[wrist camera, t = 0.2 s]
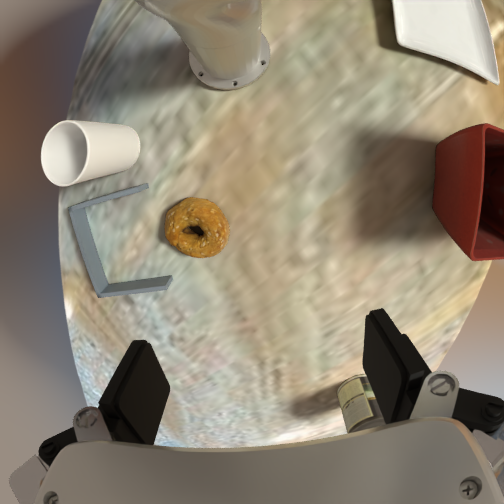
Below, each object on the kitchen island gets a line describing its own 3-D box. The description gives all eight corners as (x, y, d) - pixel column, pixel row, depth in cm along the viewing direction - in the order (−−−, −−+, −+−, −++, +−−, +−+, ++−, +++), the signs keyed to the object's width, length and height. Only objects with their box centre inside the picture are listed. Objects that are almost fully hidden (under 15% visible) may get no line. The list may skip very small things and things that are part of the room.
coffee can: (378, 369, 58) (398, 413, 45) (373, 396, 61) (388, 437, 48) (337, 378, 59) (350, 425, 45) (335, 404, 62) (346, 448, 49)
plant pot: (415, 227, 46) (469, 262, 30) (420, 123, 39) (483, 121, 23) (481, 229, 45) (533, 257, 30) (488, 140, 39) (546, 149, 23)
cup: (145, 162, 43) (96, 172, 28) (106, 178, 43) (49, 195, 28) (133, 117, 40) (80, 108, 25) (94, 135, 41) (35, 137, 26)
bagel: (175, 186, 44) (166, 191, 40) (239, 208, 45) (237, 215, 41) (160, 241, 48) (151, 251, 43) (220, 262, 49) (216, 274, 44)
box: (79, 202, 45) (68, 207, 41) (147, 183, 44) (138, 186, 40) (106, 288, 51) (98, 297, 47) (172, 279, 50) (166, 289, 46)
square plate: (389, 50, 35) (398, 44, 31) (368, -50, 25) (374, -59, 22) (491, 87, 34) (502, 86, 31) (469, -9, 25) (478, -14, 21)
